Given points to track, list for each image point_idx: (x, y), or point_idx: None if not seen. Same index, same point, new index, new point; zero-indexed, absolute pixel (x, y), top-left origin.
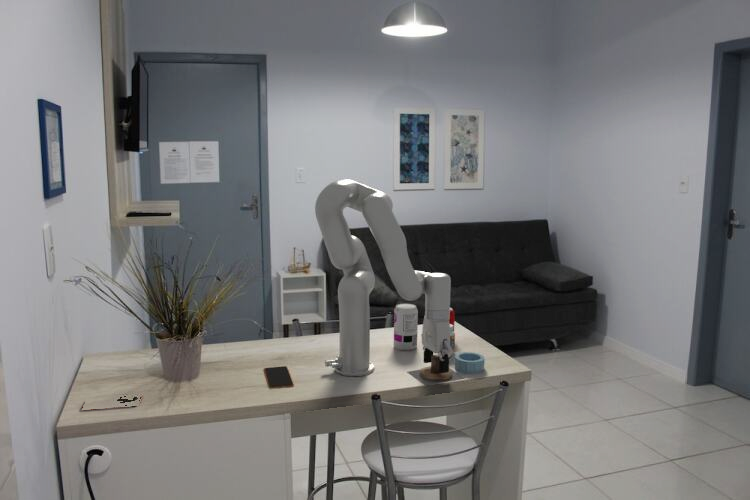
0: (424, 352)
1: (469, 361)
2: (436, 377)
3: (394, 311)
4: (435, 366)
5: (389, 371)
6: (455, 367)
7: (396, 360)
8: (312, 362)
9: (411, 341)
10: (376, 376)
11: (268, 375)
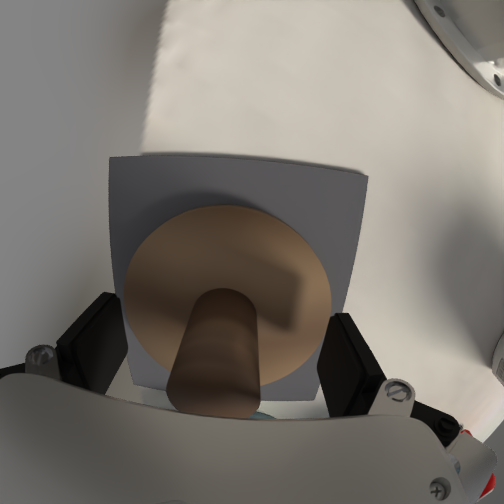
0: (365, 366)
1: None
2: (136, 266)
3: None
4: (187, 326)
5: (423, 106)
6: (259, 418)
7: (493, 241)
8: None
9: None
10: (384, 11)
11: None
